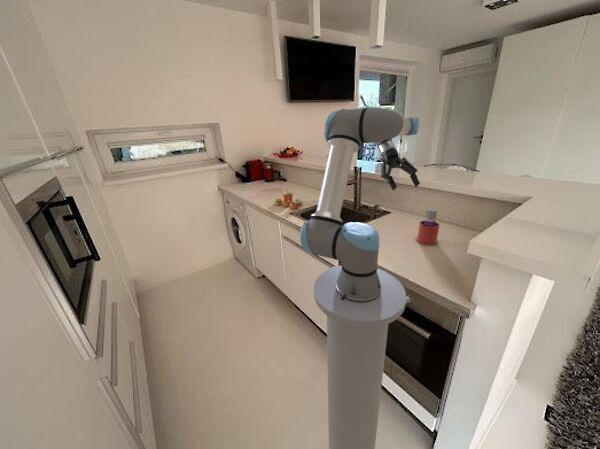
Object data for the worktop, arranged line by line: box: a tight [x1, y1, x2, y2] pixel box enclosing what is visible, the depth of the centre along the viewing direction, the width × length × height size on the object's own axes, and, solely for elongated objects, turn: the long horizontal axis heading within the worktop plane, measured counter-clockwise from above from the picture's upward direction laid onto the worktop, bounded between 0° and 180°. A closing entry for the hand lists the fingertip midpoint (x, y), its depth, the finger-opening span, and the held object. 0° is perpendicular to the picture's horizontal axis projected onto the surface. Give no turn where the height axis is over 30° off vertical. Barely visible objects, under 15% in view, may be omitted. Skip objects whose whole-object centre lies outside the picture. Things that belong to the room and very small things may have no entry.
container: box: [423, 207, 438, 227], centre depth 113 cm, size 5×5×15 cm
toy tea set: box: [273, 189, 303, 211], centre depth 179 cm, size 26×16×10 cm, turn 43°
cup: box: [416, 220, 441, 246], centre depth 115 cm, size 8×8×9 cm
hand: (406, 186), depth 118 cm, fingers open, 13 cm apart
